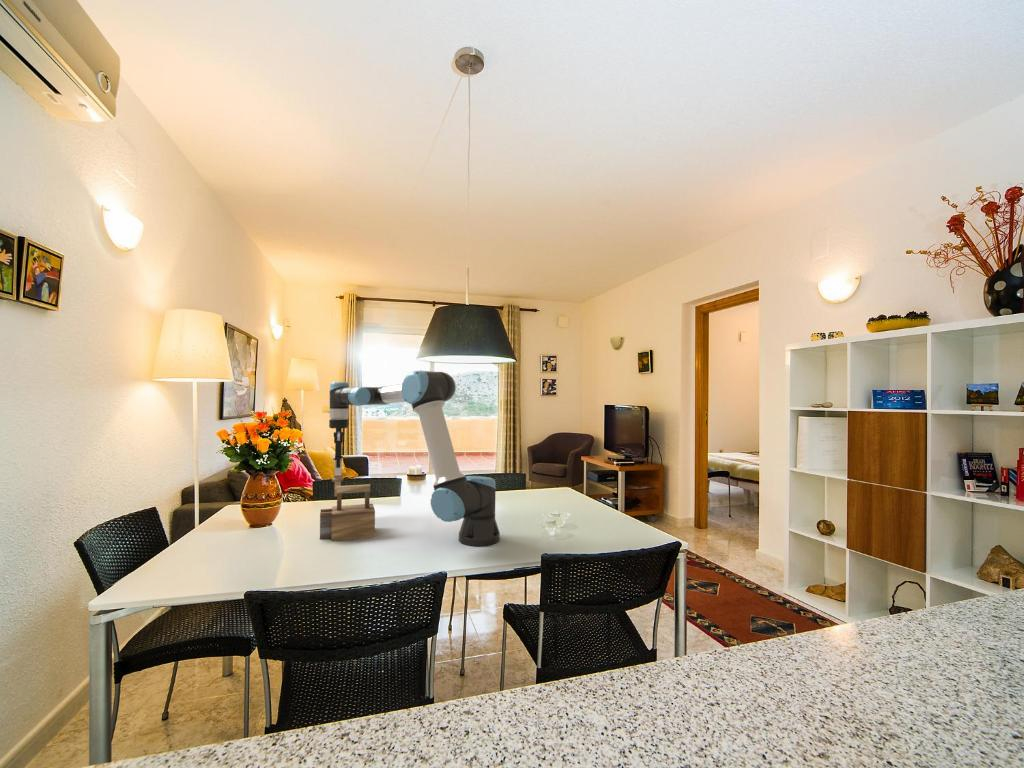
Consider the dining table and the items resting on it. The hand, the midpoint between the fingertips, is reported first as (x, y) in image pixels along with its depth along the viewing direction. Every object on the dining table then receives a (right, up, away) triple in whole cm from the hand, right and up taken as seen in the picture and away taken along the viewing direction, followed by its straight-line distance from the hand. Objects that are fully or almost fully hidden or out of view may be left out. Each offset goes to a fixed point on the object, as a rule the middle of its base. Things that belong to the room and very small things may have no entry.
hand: (337, 474), depth 197 cm
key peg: (0, -9, 0) cm, 9 cm away
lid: (+11, -11, -21) cm, 26 cm away
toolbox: (+11, -19, -21) cm, 30 cm away
